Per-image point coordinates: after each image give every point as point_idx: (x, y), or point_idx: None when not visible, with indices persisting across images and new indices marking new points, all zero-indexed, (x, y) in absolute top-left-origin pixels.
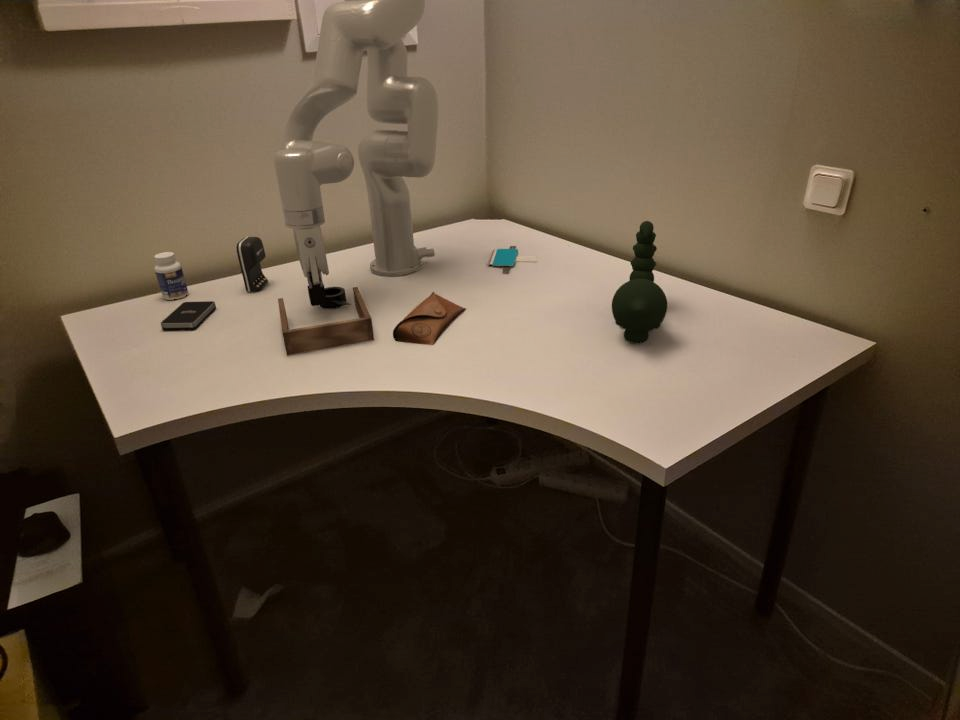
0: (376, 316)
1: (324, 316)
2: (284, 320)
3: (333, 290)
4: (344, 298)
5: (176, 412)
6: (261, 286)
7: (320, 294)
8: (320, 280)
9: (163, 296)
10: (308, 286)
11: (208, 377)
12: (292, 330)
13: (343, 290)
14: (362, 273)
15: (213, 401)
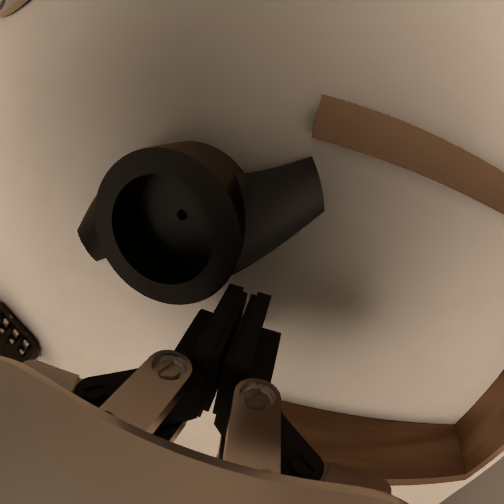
0: (478, 113)
1: (315, 301)
2: (412, 481)
3: (123, 199)
4: (225, 167)
5: (437, 500)
6: (23, 334)
7: (273, 364)
8: (314, 464)
9: None
10: (199, 413)
11: (396, 494)
12: (478, 467)
13: (175, 160)
14: (9, 40)
15: (457, 485)
